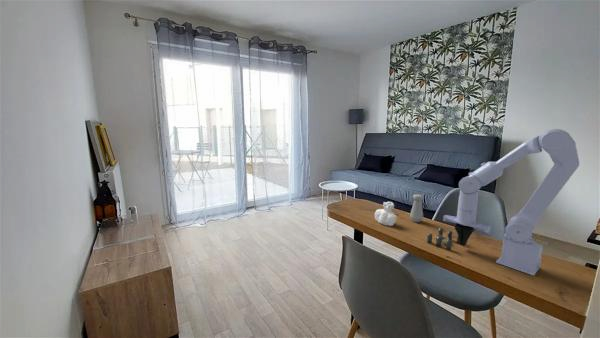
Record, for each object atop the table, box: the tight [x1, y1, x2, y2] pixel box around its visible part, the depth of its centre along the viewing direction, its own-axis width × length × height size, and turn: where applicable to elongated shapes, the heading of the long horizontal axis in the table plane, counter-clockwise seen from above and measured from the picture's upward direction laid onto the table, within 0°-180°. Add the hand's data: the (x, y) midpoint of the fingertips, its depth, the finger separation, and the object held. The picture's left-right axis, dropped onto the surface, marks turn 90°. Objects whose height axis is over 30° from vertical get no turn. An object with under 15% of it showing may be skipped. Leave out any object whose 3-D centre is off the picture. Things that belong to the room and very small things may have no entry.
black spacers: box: [426, 227, 460, 252], centre depth 97 cm, size 9×11×4 cm
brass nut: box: [434, 234, 449, 246], centre depth 98 cm, size 5×4×2 cm
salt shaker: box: [409, 194, 424, 223], centre depth 120 cm, size 6×6×13 cm
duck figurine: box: [374, 201, 398, 227], centre depth 117 cm, size 12×8×11 cm
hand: (463, 244), depth 92 cm, fingers closed
